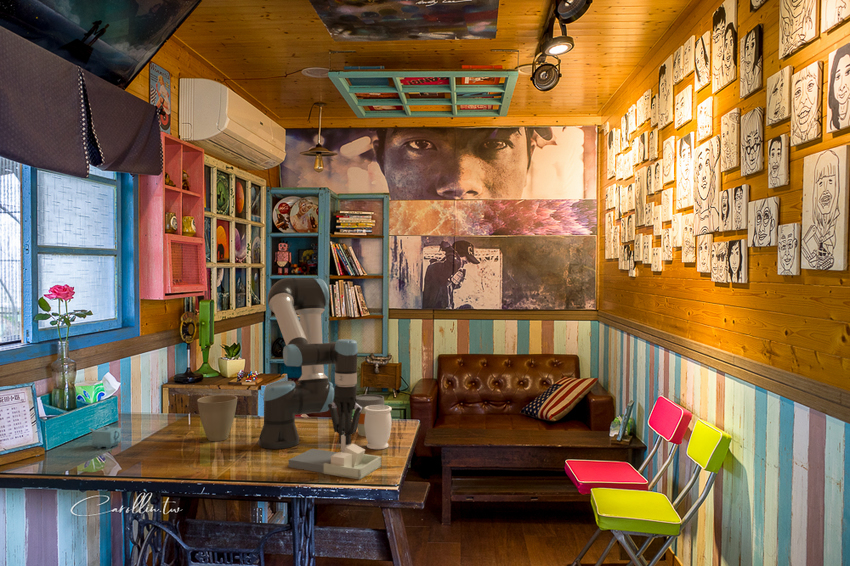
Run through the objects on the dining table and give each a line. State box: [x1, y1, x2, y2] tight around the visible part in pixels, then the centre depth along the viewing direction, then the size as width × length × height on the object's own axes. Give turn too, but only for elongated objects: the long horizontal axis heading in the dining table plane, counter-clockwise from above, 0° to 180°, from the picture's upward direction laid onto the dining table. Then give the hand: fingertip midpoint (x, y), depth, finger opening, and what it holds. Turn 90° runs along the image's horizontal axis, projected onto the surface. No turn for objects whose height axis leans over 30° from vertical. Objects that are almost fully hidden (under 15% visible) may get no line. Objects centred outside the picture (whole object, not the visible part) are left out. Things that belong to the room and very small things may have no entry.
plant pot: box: [196, 394, 238, 442], centre depth 224 cm, size 15×15×16 cm
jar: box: [364, 404, 393, 450], centre depth 216 cm, size 11×10×15 cm
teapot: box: [89, 425, 122, 450], centre depth 212 cm, size 12×6×8 cm, turn 87°
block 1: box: [331, 451, 352, 467], centre depth 187 cm, size 5×5×5 cm
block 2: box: [344, 443, 366, 467], centre depth 193 cm, size 5×5×5 cm
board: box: [288, 448, 339, 474], centre depth 195 cm, size 14×14×2 cm
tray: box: [323, 453, 383, 481], centre depth 189 cm, size 14×15×3 cm
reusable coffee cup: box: [356, 393, 385, 437], centre depth 235 cm, size 13×13×15 cm
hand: (344, 453), depth 194 cm, fingers closed
